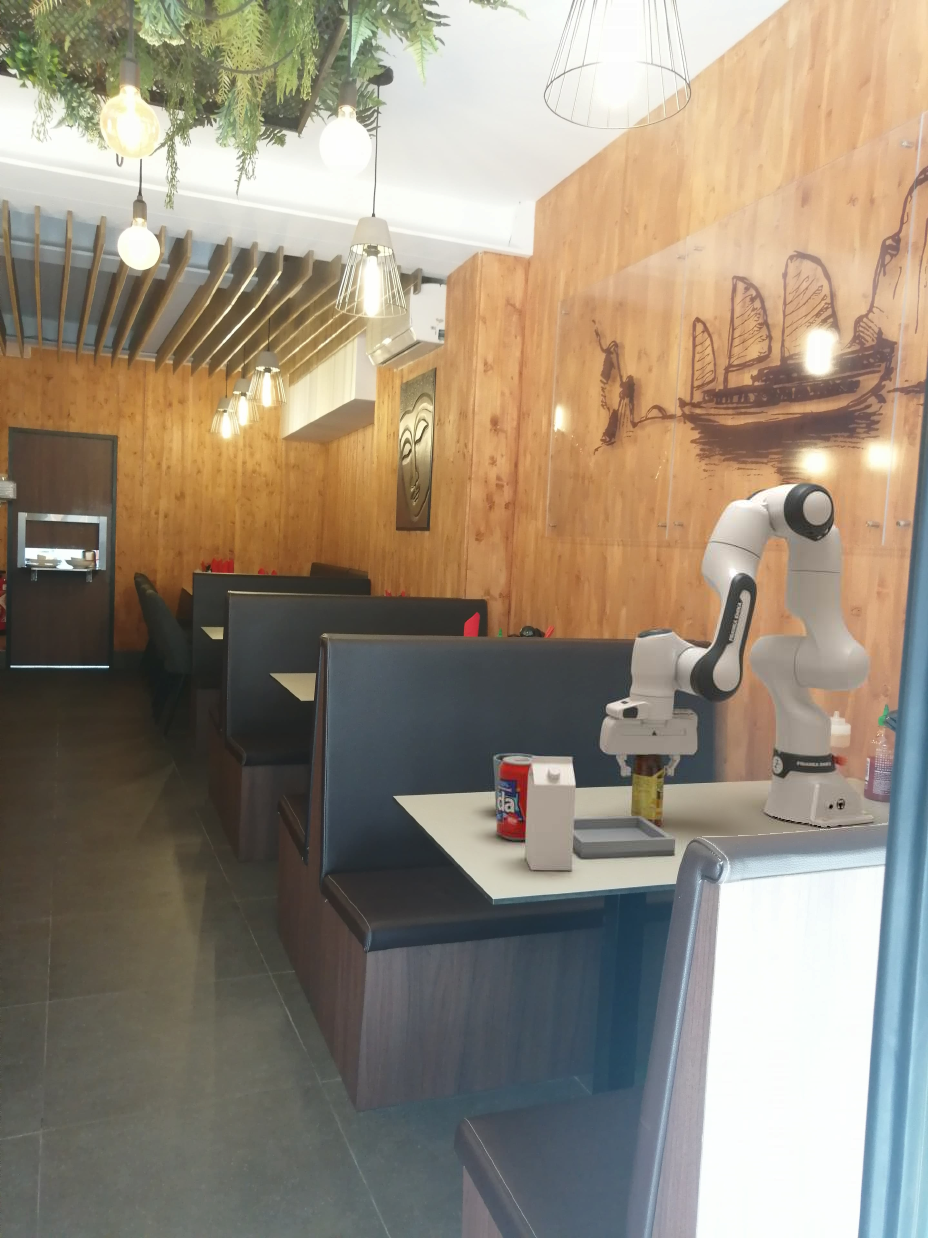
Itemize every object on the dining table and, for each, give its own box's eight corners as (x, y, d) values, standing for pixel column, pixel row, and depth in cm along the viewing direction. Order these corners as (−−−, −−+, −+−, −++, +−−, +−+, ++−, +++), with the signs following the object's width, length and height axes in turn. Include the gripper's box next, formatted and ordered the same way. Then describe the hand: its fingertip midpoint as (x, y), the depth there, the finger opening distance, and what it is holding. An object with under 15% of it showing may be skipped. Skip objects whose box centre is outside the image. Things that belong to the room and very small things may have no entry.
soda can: (544, 841, 168) (547, 763, 167) (506, 844, 165) (509, 764, 164) (526, 829, 175) (529, 754, 174) (490, 832, 172) (493, 755, 172)
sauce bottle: (661, 830, 178) (666, 732, 177) (630, 827, 179) (635, 730, 178) (661, 821, 184) (666, 726, 183) (630, 818, 185) (635, 724, 184)
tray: (640, 830, 177) (641, 816, 177) (674, 855, 162) (675, 839, 162) (554, 833, 173) (555, 818, 173) (581, 859, 158) (582, 842, 158)
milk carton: (524, 857, 158) (528, 752, 157) (563, 857, 159) (568, 752, 158) (530, 871, 151) (535, 761, 150) (571, 871, 152) (576, 761, 151)
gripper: (690, 706, 186) (686, 772, 186) (598, 705, 181) (595, 772, 182) (705, 711, 179) (701, 779, 180) (610, 710, 175) (606, 779, 176)
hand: (647, 775), depth 181 cm, fingers open, 8 cm apart
